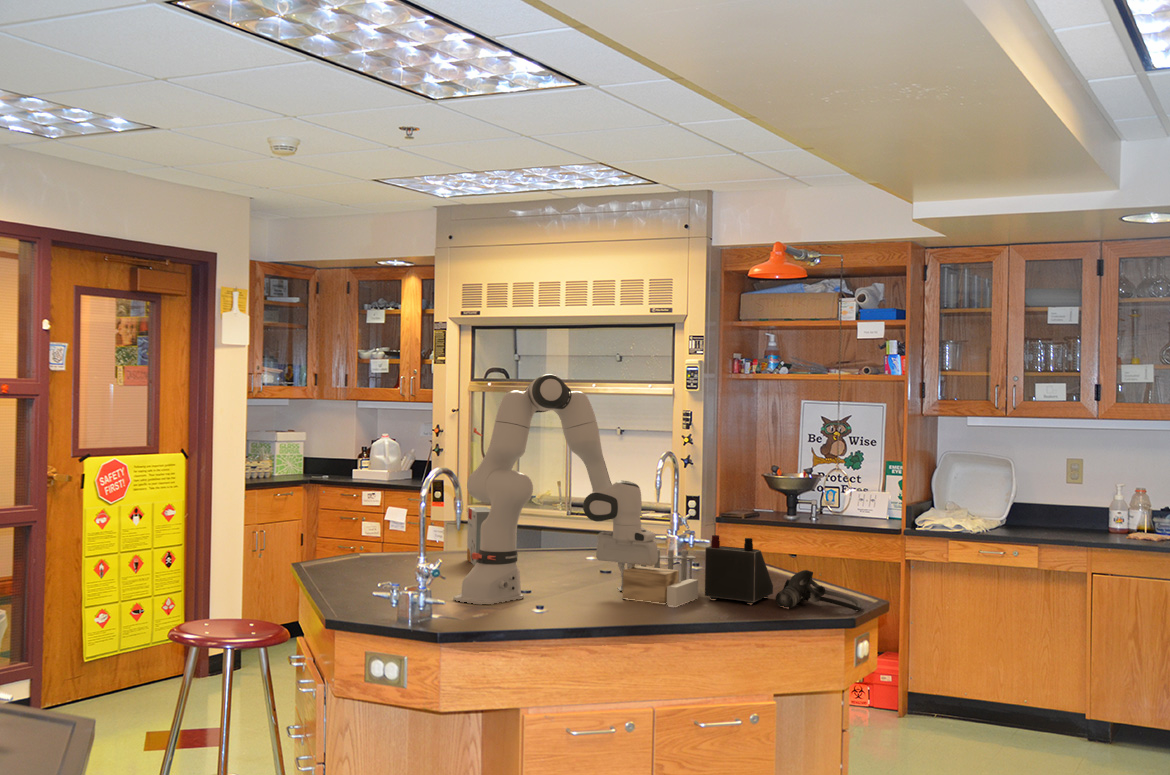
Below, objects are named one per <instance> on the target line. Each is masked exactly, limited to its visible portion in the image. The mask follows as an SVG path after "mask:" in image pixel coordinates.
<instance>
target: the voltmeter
mask: <svg viewBox="0 0 1170 775" xmlns="http://www.w3.org/2000/svg"><path fill="white" fill-rule="evenodd" d="M710 542H711V544H710V546H707V547H705V555H704V556H705V557H704V560H705V561H704V564H705V567H704V596H705V597H709V599H710V598H711V599H717V598H719V599H726V600H727V599H728V600H736V601H743V602H745V603H746V602H747V603H755V602H757V601H761V600H763V599H762V598H764V597H769V596H771V595H773V594H774V585H773V581H772V579H771V578H772V577H771V576H770V573H769V570H768V567H767V563H766V561H765V559H764V556H763V553H762V550H760V549H756V548H754V544H753V538H752V537H746V538H744V546H743V547H735V546H722V545H721V541H720V535H716V534H714V535H713V534H711V541H710ZM717 600H718V599H717Z"/></svg>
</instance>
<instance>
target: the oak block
mask: <svg viewBox="0 0 1170 775" xmlns="http://www.w3.org/2000/svg"><path fill="white" fill-rule="evenodd" d="M679 575H680V570H678V569H677V570H676V569H673V570H670V569H668V568H661V567H660V568H654V567H652V566H646V567H642V566H641V565H640V566H639V565H637V566H635V567H633V568H630V569H625V570H623V592H622V599H623V598H628V599H635V600H643V601H651V602H659V603H666V602H667V586H670V585H673V584H675V583H678V582H680V580H679V579H680V578H679V577H680V576H679Z"/></svg>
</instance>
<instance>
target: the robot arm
mask: <svg viewBox="0 0 1170 775" xmlns="http://www.w3.org/2000/svg"><path fill="white" fill-rule="evenodd" d="M548 411H549V412H550V411H553V412H555V414H557V416H558V418H559V420H560V423H561V427H562V433H563V436H564V439H565V441H566V444H567V446H568V448H569V450H570V451H571V452H572V453H574V454H575V455H576V456H577V457H578V458H580V460H581V461H582V462H583V464H584V466H585V468H586V471H587V475H588V478H589V482H590V485H591V493H589V494H588V495H587V496H586V497H585V498H584V500H583V504H582V509H583V513H584V515H585V516H586V518H588V519H589V520H590V521H594V522H598V523H601V522H605V521H609V520H610V521H612V531H605V530H602V531H600V532H599V533H598V534H597V540H596V541H597V544H596V553H595V557H596V559H597V560H598V561H601V562H611V563H617V567H618V569H619V570H620V578H622V577H623V570H626V569H625V566H626V564H627V563H628V567H629V569H630V568H633V567H636V565H637V566H639V565H640V566H641V565H646V566H647V567H652V566H654V565H655V564H656V563H657V562H658V550H659V549H658V545H657V543H656V541H655V540H656V538H657V536H656V533H655V532H654V531H651V530H648V529H646V528H644V527H642V521H641V514H642V492H641V487H640V486H639V485H638V484H637V483H635V482H634V481H633V482H632V481H629V480H616V481H615V482H614V483H612V481H611V477H610V475H609V472H608V468H607V464H606V461H605V457H604V455H603V449H602V448H603V447H602V443H601V437H600V436H601V435H600V430H599V426H598V421H597V418H596V415H595V414H596V413H595V412H594V408H593V406H592V404H591V401H590V399H589V397H588V396H587V394H586V393H584V392H583V391H580V390H579V391H578V390H574V391H572V390H571V389H570V387H569V386H568V385H567V384H566V382H565V381H564V380H563V379H561V377H558V376H557V375H555V374H553V373H552V374H551V373H547V374H542V375H539V376H538V377H536V378H535V379H533V380H532V381H531V383H529V385H528V386H526V388H524V390H523V391H520V390H510V391H508V392H506V393H505V394H504V395H503V397H502V398H501V401H500V404H499V406H498V409H497V412H496V416H495V420H494V424H493V430H492V434H491V439H490V442H489V446H488V449H487V451H486V452H485V455H484V456H483V459H482V460H481V462H480V464H479V465H478V467H476V469H475V470H474V471H473V472H471V473H470V474H469V476H468V478H467V483H466V489H467V491H468V494H469V495H470V496H471V497H472V498H474V499H475V500H477V501H479V502H482V503H485V504H490V507H489V509H490V512H489V515H488V517H487V519H485V520H484V521H483V522H482V524H481V542H480V550H479V552H478V553H472V555H473V556H472V559H477V560H476V561H477V563H476V565H475V566H474V565H473V567H472V568H471V570H470V571H469V572H468V573H467V574H466V576H465V577H464V578H463V580H462V583H461V584H462V585H461V593H460V594H457V595H455V596H453V601H455V600H456V602H458V601H460V603H464V602H467V603H466V604H471V603H473V604H474V605H482V604H491V605H495V604H494V603H497V604H500V603H499V602H502V603H505V601H507V602H511V601H510V600H513V601H517V600H516V599H518V600H522V598H523V599H524V593H522V590H521V589H522V587H521V586H522V585H521V573H520V570H519V568H518V565H517V562H518V557H519V554H518V549H517V536H518V535H517V534H518V533H517V531H518V524H519V520H520V519H519V518H520V516H521V513H522V510H523V508H524V507H525V505H526V504H527V503H528V502H529V501H530V500H531V498H532V496H533V494H534V493H533V492H534V485H533V482H532V480H531V478H530V477H529V476H528V475H526V474H524V473H522V472H521V471H517V470H513V468H514V466H515V464H516V462H517V461H518V460H519V459H520V458H521V457H523V456H524V454H525V452H526V448H527V442H528V438H529V434H530V429H531V424H532V418H533V416H534V414H536V413H546V412H548ZM473 604H472V605H473Z"/></svg>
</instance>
